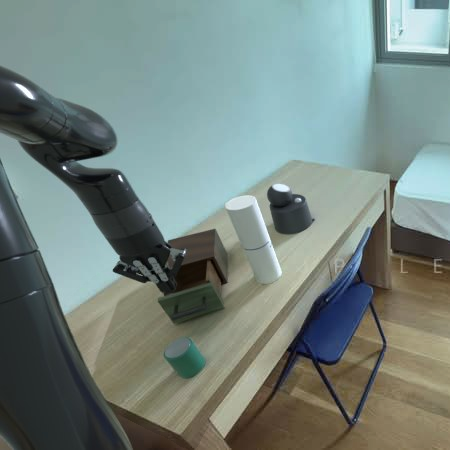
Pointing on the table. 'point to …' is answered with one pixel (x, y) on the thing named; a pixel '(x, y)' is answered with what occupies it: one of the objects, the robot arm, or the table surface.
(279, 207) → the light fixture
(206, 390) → the table surface
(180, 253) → the robot arm
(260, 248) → the cylindrical container
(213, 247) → the cabinet
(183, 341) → the can
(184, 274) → the drawer
